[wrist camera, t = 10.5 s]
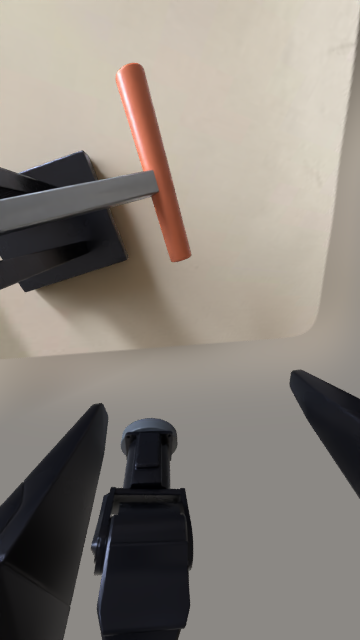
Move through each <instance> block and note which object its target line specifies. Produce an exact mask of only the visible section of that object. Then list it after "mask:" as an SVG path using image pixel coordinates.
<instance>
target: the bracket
mask: <svg viewBox="0 0 360 640" xmlns="http://www.w3.org/2000/svg"><path fill="white" fill-rule="evenodd" d="M97 180H98V178H97V176H96V173H95V171H94V168H93V166H92V163H91V161H90V158H89V156H88V155H87V154H86V153H85V152H84V151H83V150H82V151H79V152H76V153H73V154H71V155H68V156H65V157H62V158H60V159H57V160H54V161H51V162H48V163H46V164H43V165H40V166H37V167H34V168H32V169H29V170H26V171H23V172H20V173H15V172H12V171H9V170H7V169H4V168H1V167H0V199H5V198H10V197H15V196H20V195H25V194H30V193H36V192H41V191H46V190H51V189H56V188H61V187H66V186H71V185H77V184H82V183H87V182H92V181H97ZM0 256H1V258H2V259H3V260H1V261H0V290H1V289H3V288H6V287H8V286H11V285H13V284H15V283H19V284H20V286H21V287H22V289H23V290H24V292H28V291H31V290H34V289H37V288H41V287H44V286H47V285H50V284H53V283H56V282H59V281H62V280H66V279H69V278H72V277H75V276H78V275H81V274H84V273H87V272H90V271H94V270H97V269H100V268H103V267H106V266H109V265H112V264H115V263H119V262H122V261H125V260H127V259H128V258H129V257H128V254H127V252H126V249H125V246H124V244H123V241H122V239H121V236H120V234H119V231H118V229H117V226H116V224H115V221H114V219H113V216H112V214H111V211H110V209H109V208H106V209H102V210H99V211H95V212H91V213H87V214H83V215H79V216H76V217H72V218H68V219H64V220H60V221H56V222H52V223H49V224H45V225H41V226H37V227H33V228H29V229H25V230H22V231H18V232H14V233H10V234H6V235H2V236H0Z"/></svg>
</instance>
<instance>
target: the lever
mask: <svg viewBox="0 0 360 640" xmlns="http://www.w3.org/2000/svg"><path fill="white" fill-rule="evenodd" d="M116 83H117V86H118V89H119V93H120V96H121V99H122V103H123V106H124V109H125V112H126V116H127V119H128V122H129V125H130V129H131V132H132V135H133V139H134V142H135V145H136V148H137V152H138V155H139V158H140V161H141V165H142V168H143V172H138V173H133V174H128V175H123V176H118V177H112V178H107V179H102V180H97V181H92V182H87V183H82V184H77V185H71V186H66V187H61V188H56V189H51V190H46V191H41V192H36V193H30V194H25V195H20V196H15V197H10V198H5V199H0V236H2V235H6V234H10V233H14V232H18V231H22V230H25V229H29V228H33V227H37V226H41V225H45V224H49V223H52V222H56V221H60V220H64V219H68V218H72V217H76V216H79V215H83V214H87V213H91V212H95V211H99V210H102V209H106V208H110V207H114V206H118V205H122V204H126V203H129V202H133V201H137V200H141V199H145V198H149V197H152V201H153V204H154V207H155V211H156V214H157V217H158V220H159V224H160V227H161V230H162V233H163V237H164V240H165V243H166V247H167V250H168V253H169V256H170V260H171V262H178V261H182V260H185V259H187V258H189V257H191V251H190V247H189V243H188V240H187V236H186V232H185V228H184V224H183V220H182V216H181V212H180V208H179V204H178V200H177V197H176V193H175V189H174V185H173V181H172V177H171V173H170V169H169V165H168V161H167V158H166V154H165V150H164V146H163V142H162V138H161V134H160V130H159V126H158V122H157V119H156V115H155V111H154V107H153V103H152V99H151V95H150V91H149V87H148V83H147V79H146V76H145V72H144V69H143V67H142V66H141V65H140V64H138V63H130V64H127V65H125V66H123V67H122V68H120V69H119V70H118V72H117V74H116Z"/></svg>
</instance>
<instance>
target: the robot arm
mask: <svg viewBox="0 0 360 640" xmlns="http://www.w3.org/2000/svg"><path fill="white" fill-rule="evenodd" d="M290 388H291V390H292V392H293V394H294V396H295V398H296V400H297V401H298V403H299V405H300V407H301V409H302V410H303V412H304V414H305V416H306V418H307V420H308V421H309V423H310V425H311V426H312V428H313V429H314V431H315V432H316V434H317V435H318V437H319V438H320V440H321V441H322V443H323V444H324V446H325V447H326V449H327V450H328V452H329V453H330V455H331V456H332V458H333V459H334V461H335V462H336V464H337V465H338V467H339V468H340V470H341V471H342V473H343V474H344V476H345V477H346V478H347V480H348V482H349V483H350V485H351V486H352V488H353V489H354V491H355V492H356V494H357V495H358V497H359V498H360V399H359V398H357V397H355V396H353V395H351V394H349V393H347V392H345V391H343V390H341V389H339V388H337V387H335V386H333V385H331V384H329V383H327V382H325V381H323V380H321V379H319V378H317V377H315V376H313V375H311V374H309V373H307V372H305V371H303V370H294V371H292V372H291V377H290ZM107 426H108V414H107V412H106V410H105V407H104V405H103V404H102V403H99V404H94V405H92V406H91V407H90V408H89V409H88V411H87V412H86V413H85V414H84V415H83V416H82V417H81V418H80V419H79V420H78V421H77V423H76V424H75V425H74V426H73V427H72V428H71V429H70V430H69V431H68V432H67V434H66V435H65V436H64V437H63V438H62V439H61V440H60V441H59V443H58V444H57V445H56V446H55V447H54V448H53V449H52V450H51V451H50V453H48V455H47V456H46V457H45V458H44V459H43V460H42V461H41V462H40V463H39V465H38V466H37V467H36V468H35V469H34V470H33V471H32V472H31V473H30V474H29V476H28V477H27V478H26V479H25V480H24V482H22V483H21V484H20V485H19V487H18V488H17V489H16V490H15V491H14V492H13V493H12V494H11V495H10V496H9V497H8V498H7V500H6V501H5V502H4V503H3V504H2V505H1V506H0V640H63V638H64V634H65V629H66V625H67V619H68V616H69V611H70V605H71V601H72V597H73V592H74V587H75V583H76V579H77V574H78V569H79V565H80V561H81V556H82V552H83V547H84V543H85V538H86V534H87V529H88V525H89V520H90V516H91V511H92V507H93V502H94V497H95V493H96V488H97V484H98V480H99V475H100V471H101V466H102V461H103V457H104V451H105V443H106V434H107ZM172 442H173V432H172V431H141V432H127V433H126V434H125V444H126V456H127V464H126V471H125V478H124V485H123V488H116V487H111V489H110V493H108V494H107V495H104V497H103V502H102V507H101V511H100V515H99V519H98V523H97V527H96V530H95V534H94V538H93V541H92V546H91V551H92V553H93V555H94V557H95V559H94V563H96V565H95V572H94V575H102V579H101V585H100V591H99V597H98V603H97V614H98V619H99V624H100V630H101V636H102V640H178V637H179V634H180V631H181V629H184V628H185V626H186V622H187V618H188V614H189V609H190V595H189V575H188V574H189V573H188V571H190V570H191V568H192V562H193V536H192V535H193V534H192V526H191V521H190V515H189V510H188V504H187V499H186V492H185V488H180V489H170V461H171V455H172ZM112 514H118V515H114V516H112Z"/></svg>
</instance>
